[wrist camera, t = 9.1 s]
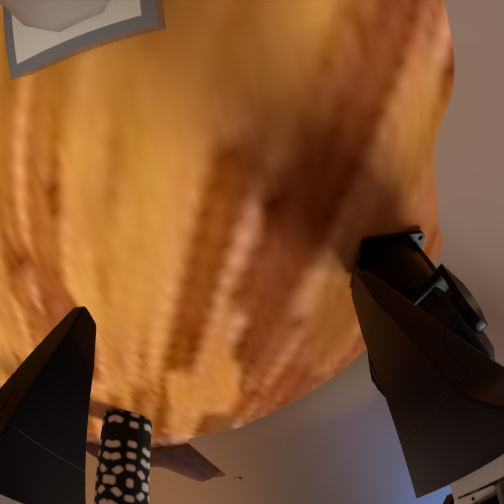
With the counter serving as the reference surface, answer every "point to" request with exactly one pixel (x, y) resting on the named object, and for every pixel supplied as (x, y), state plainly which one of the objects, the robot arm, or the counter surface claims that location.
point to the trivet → (77, 34)
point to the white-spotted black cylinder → (123, 459)
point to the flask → (54, 12)
